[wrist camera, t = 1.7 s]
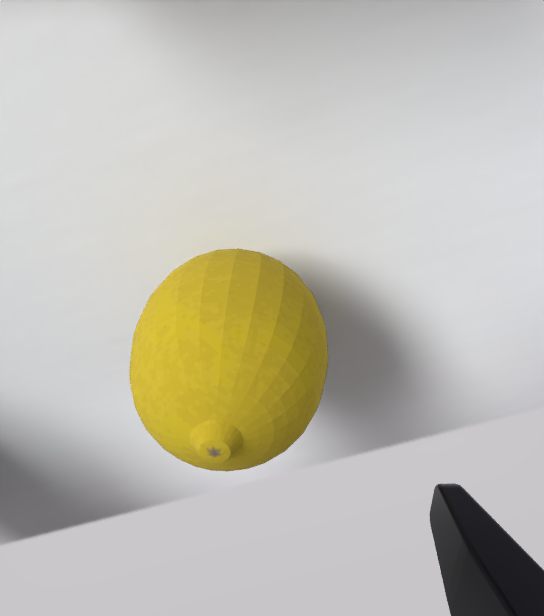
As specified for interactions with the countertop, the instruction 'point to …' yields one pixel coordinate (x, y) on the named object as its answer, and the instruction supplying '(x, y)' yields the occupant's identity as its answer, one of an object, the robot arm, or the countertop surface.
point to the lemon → (229, 360)
